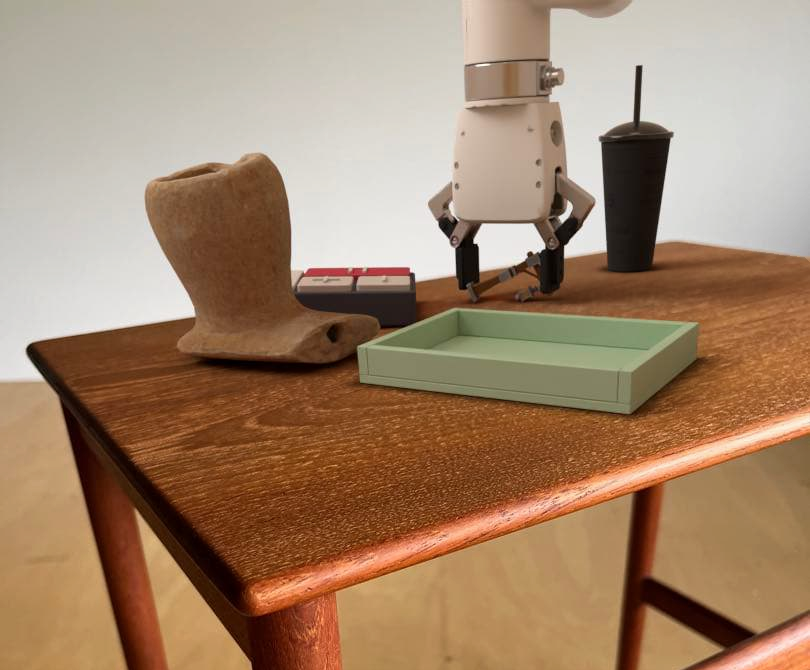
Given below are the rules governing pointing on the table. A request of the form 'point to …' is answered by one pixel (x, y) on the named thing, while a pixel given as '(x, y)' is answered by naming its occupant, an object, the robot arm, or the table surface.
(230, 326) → the boot-shaped pottery piece
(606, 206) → the drinking cup
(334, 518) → the table surface
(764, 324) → the table surface
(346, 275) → the dark box with panels
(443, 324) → the tray
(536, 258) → the wooden post with brackets
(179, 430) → the table surface
